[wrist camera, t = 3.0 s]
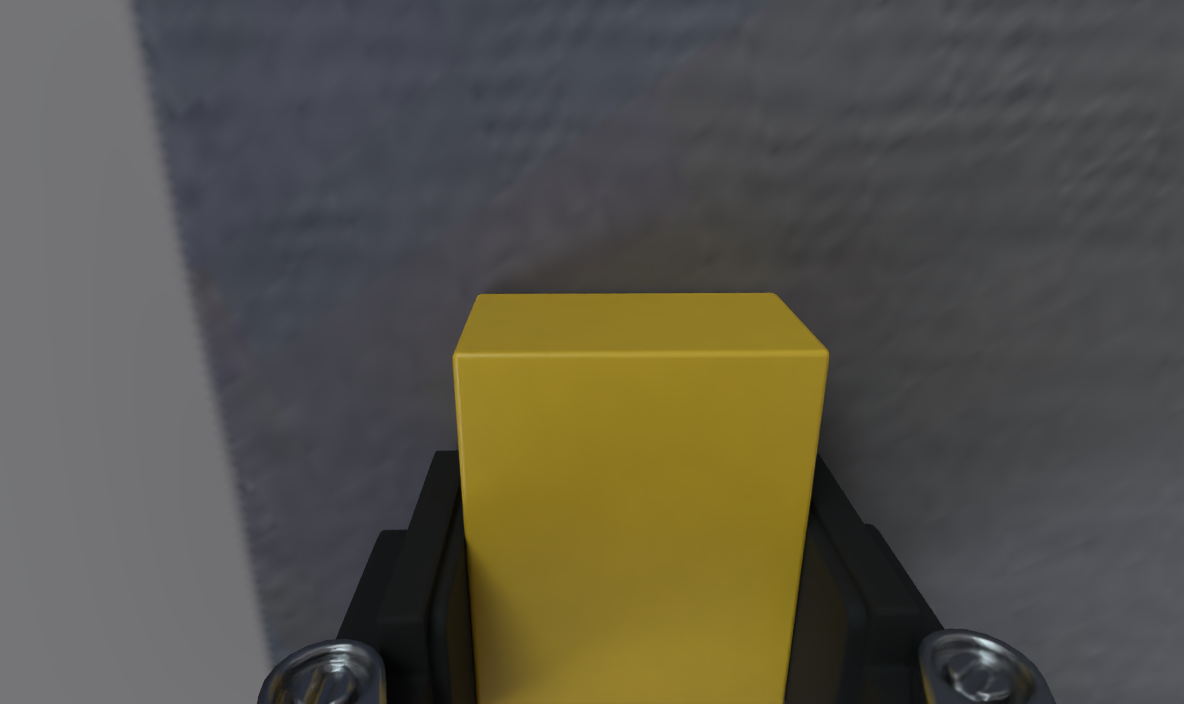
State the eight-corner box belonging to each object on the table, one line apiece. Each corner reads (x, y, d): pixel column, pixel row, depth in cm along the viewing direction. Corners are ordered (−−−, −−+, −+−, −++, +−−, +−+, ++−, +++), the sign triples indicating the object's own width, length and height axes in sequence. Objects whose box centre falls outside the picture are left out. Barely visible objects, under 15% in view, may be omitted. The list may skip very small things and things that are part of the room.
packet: (476, 292, 11) (450, 352, 8) (776, 291, 11) (833, 351, 9) (499, 701, 14) (484, 830, 11) (736, 696, 14) (769, 823, 11)
